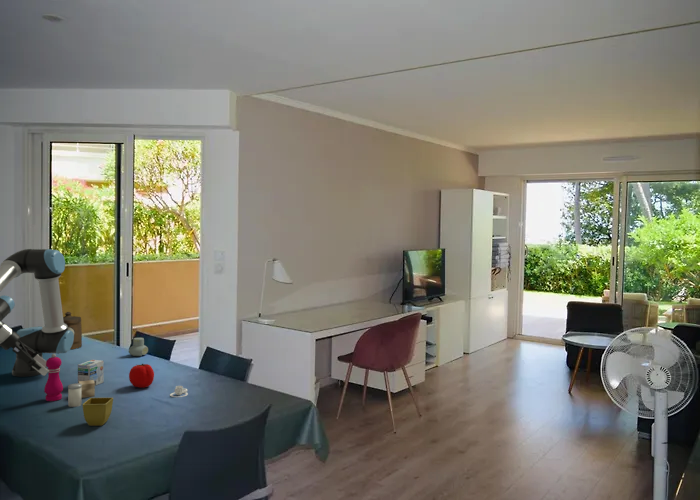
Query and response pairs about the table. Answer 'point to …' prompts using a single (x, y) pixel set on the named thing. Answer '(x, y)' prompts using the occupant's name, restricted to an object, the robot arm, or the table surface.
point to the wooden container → (74, 329)
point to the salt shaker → (74, 395)
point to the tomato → (141, 375)
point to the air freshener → (138, 347)
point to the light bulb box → (91, 371)
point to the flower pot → (97, 410)
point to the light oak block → (87, 388)
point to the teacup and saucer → (179, 391)
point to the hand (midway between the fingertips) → (46, 369)
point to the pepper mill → (53, 379)
